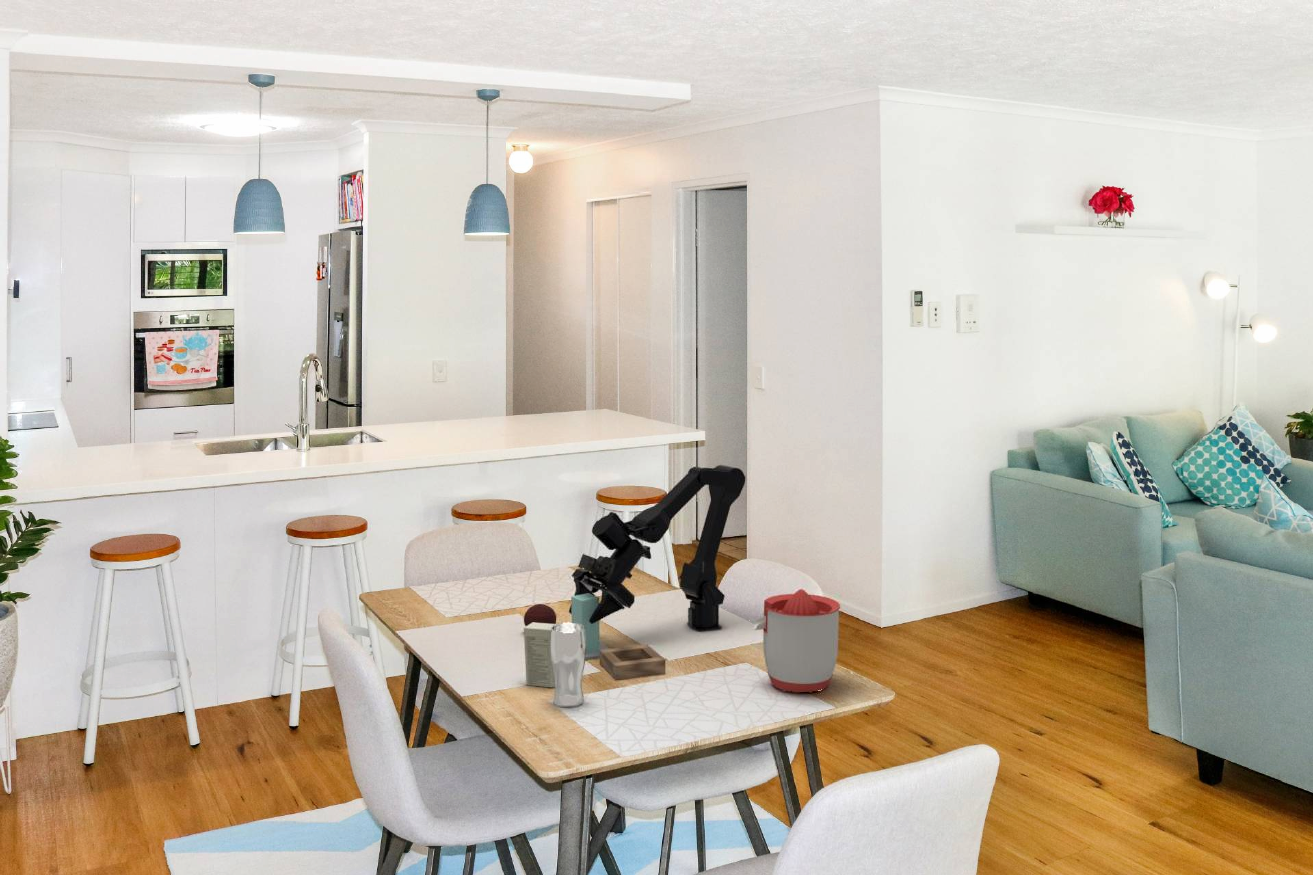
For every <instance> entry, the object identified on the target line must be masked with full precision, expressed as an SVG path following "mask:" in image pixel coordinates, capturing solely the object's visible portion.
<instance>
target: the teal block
mask: <svg viewBox="0 0 1313 875" xmlns="http://www.w3.org/2000/svg"><path fill="white" fill-rule="evenodd" d="M594 595H595V594H594ZM594 595H592V594H589V593H587V594H582V595H576V596H574V595H573V596H571V599H570V602H571V605H570V606H571V612H572V614H571V623H578V624H581V625H583V626H584V627H585V638H586V653H589V652H594V651H599V650H600V640H601V638H600V637H601V636H600V634H601V632H600V629H601V628H600V620H599V621H597V622H595V623H593V624H591V623H590V622H589V619H590V617H591V616H592V614H593V612H594V611H595V609H596V608H597V606H598V604H599V603H600V597H599V596H596V595H595V596H594Z"/></svg>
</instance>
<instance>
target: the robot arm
mask: <svg viewBox="0 0 1313 875" xmlns="http://www.w3.org/2000/svg"><path fill="white" fill-rule="evenodd" d="M746 479H747V478H746V475H745V473H744V471H743V470H742V469H740V468H739V467H734V466H730V465H724V464H719V465H716V466H715V467H700V466H693V467H691V468H690V469H688V471H687V473H686V474H685V475H684V477H682V478H681V480H679V482H677V484H676V485H674V486H673V488H671V489H670V491H669V492H668V493H666V495H664V496H663V497H662V498H661V499H660V500H659V502H657V503H656V504H654V505H653V506H651V507H648V508H645V509H644V510H642V511H641V512H640V513H638V514H637V515H635V516H633V518H632V519H631V520H628V521H626V522H624V521H623V520H622V519H621V518H620V516H619V515H618V514H617V512H613V511H610V512H609V513H608V514H606V515H605V516H602V517H601V518H599V519H598V520H596V522H595V523H594V524H593V525H592V528H591V534H592V535H593V536H594V537H595V538H596V539H598V541H600V543H602V545H604V546H605V548H607V549H608V550H609V551H613V552H612V554H611V555H610V556H602V555H599V556H598V557H597V558H595V557H593V556H589V555H587V554H585V553H582V555H581V557H580V560H579V563H578V565H577V568H575V570H574V572H573V573H572V574H571V577H572V578H573V582H574V584H575V592H574V595H573V596H576V595H582V594H587V593H589V594H592V595H594V596H596V594H595V593H597V592H599V591H601V600H599V604H598V606H597V608H596V609H595V611H594V612H593V614H592V616H591V617H590V619H589V622H590V623H591V624H593V623H595V622H597V621H599V622H600V621H601V620H602V619H605V618H607V617H608V616H610V615H612V614H614V613H616V612H619V611H620V610H625V609H626V608H627V609H631V607H632V606H633V605H634V604H635V599H636V598H635V595H634V594H633V593H632V592H631V591H630V590H629V588H627V587H626V586H625V585H624V584H623V583H624V582H625V580H626V579H629V580H630V579H631V578H632V577H633V574H632V570H633V569H634V568H635V566H636V565H637V564H638V562H639V561H640V560H641V558H645V559H647V560H652V554H651V546H647V545H644V544H643V543H641V541H642V542H646V543H649V544H656V543H658V542H660V541H661V540H662V539H663V537H664V535H666V532H667V531H668V530H669V529H670V526H671V525H670V524H671V522H672V520H673V518H674V517H675V516H676V515H677V514H678V513H679V512H680V511H681V510H682V509H683V508H684V507H685V506H686V505H687V504H688V503H689V502H690V501H691V500H692V499H693V498H694V497H695V496H696V495H697V493H699V492H700V491H701V490H702V489H703V488H704V487H705V486H708V492H709V497H710V502H709V505H708V509H707V513H706V517H705V519H704V523H703V527H702V530H701V534H700V538H699V541H698V545H697V548H696V552H695V555H694V557H693V559H692V560H691V561H689V562H684V563H683V565H682V571H681V574H680V576H679V577H678V579H679V580H680V582H679V586H680V588H681V590H682V592H683V593H684V596H685V599H686V600H689V607H688V608H687V622H686V624H687V625H688V627H689V628H690V627H691V628H692V629H693V630H694V631H696V632H704V631H712V630H718V629H719V630H721V629H722V625H721V624H719V622H720V621H719V620H720V619H719V618H720V616H719V615H720V611H719V610H720V605H723V603H724V601H725V596H726V595H725V594H724V593H723V592H722V591H721V590H720V589H719V588H718V587H717V579H718V575H717V569H716V560H717V556H718V553H719V549H720V545H721V542H722V538H723V536H724V535H723V534H724V532H725V531H724V530H725V528H726V524H727V520H728V517H729V513H730V510H731V507H732V505H733V504H734V503H735V502H736V501H737V500H738V498H739V497H740V496H741V493H742V491H743V489H744V487H745V485H746V481H747V480H746ZM631 536H632V538H631ZM639 540H640V541H639ZM625 607H626V608H625ZM568 613H569V614H570V615H572V612H571V605H570V607H569V609H568Z"/></svg>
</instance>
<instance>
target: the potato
mask: <svg viewBox="0 0 1313 875" xmlns="http://www.w3.org/2000/svg"><path fill="white" fill-rule="evenodd" d="M523 616H524V617H523V623H524V627H526V626H528V625H529V624H531V623H532V622H535V623H548V624H557V614H556V612H555V610H554V608H553V607H551V606H549V605H547V604H543V603H537V604H534V605H532V606H530V607H529V608H528V609H527V610H526V611H525V613H524V615H523Z"/></svg>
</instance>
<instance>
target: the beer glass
mask: <svg viewBox="0 0 1313 875" xmlns="http://www.w3.org/2000/svg"><path fill="white" fill-rule="evenodd" d="M550 656H551V663H552V669H553V674H554V679H555V686H554V692H553V693H554V694H553V697H552V698H553V699H552V704H554V705H555V706H557V707H559V708H576V707H579V706H582V705H583V704H584V703H585V696H584V690H583V676H584V670H585V666H586V665H585V664H586V660H585V658H586V638H585V627H584V626H583V625H581V624H578V623H572V622H562V623H556V625H554V626H552V627H551V637H550Z"/></svg>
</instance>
